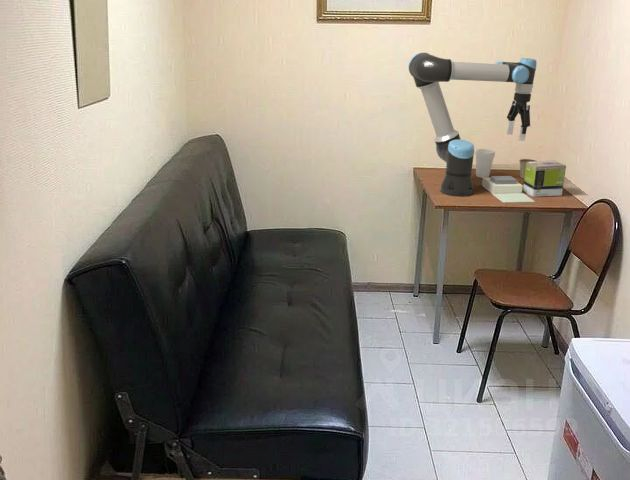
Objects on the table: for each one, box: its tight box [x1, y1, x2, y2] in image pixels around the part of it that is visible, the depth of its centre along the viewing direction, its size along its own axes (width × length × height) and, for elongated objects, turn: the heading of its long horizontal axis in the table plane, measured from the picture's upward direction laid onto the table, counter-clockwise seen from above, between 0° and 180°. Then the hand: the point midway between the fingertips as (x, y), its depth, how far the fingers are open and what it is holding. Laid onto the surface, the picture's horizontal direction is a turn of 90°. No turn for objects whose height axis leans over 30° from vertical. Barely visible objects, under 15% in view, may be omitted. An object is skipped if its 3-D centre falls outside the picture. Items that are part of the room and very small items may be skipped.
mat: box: [492, 192, 536, 204], centre depth 290 cm, size 15×12×1 cm
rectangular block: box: [490, 175, 518, 184], centre depth 300 cm, size 10×7×2 cm
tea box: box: [522, 160, 567, 198], centre depth 296 cm, size 15×10×15 cm, turn 100°
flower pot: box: [519, 158, 537, 180], centre depth 323 cm, size 9×9×9 cm
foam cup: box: [474, 148, 496, 179], centre depth 323 cm, size 10×9×13 cm
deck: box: [481, 177, 524, 195], centre depth 302 cm, size 14×14×4 cm
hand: (515, 137), depth 305 cm, fingers open, 13 cm apart
